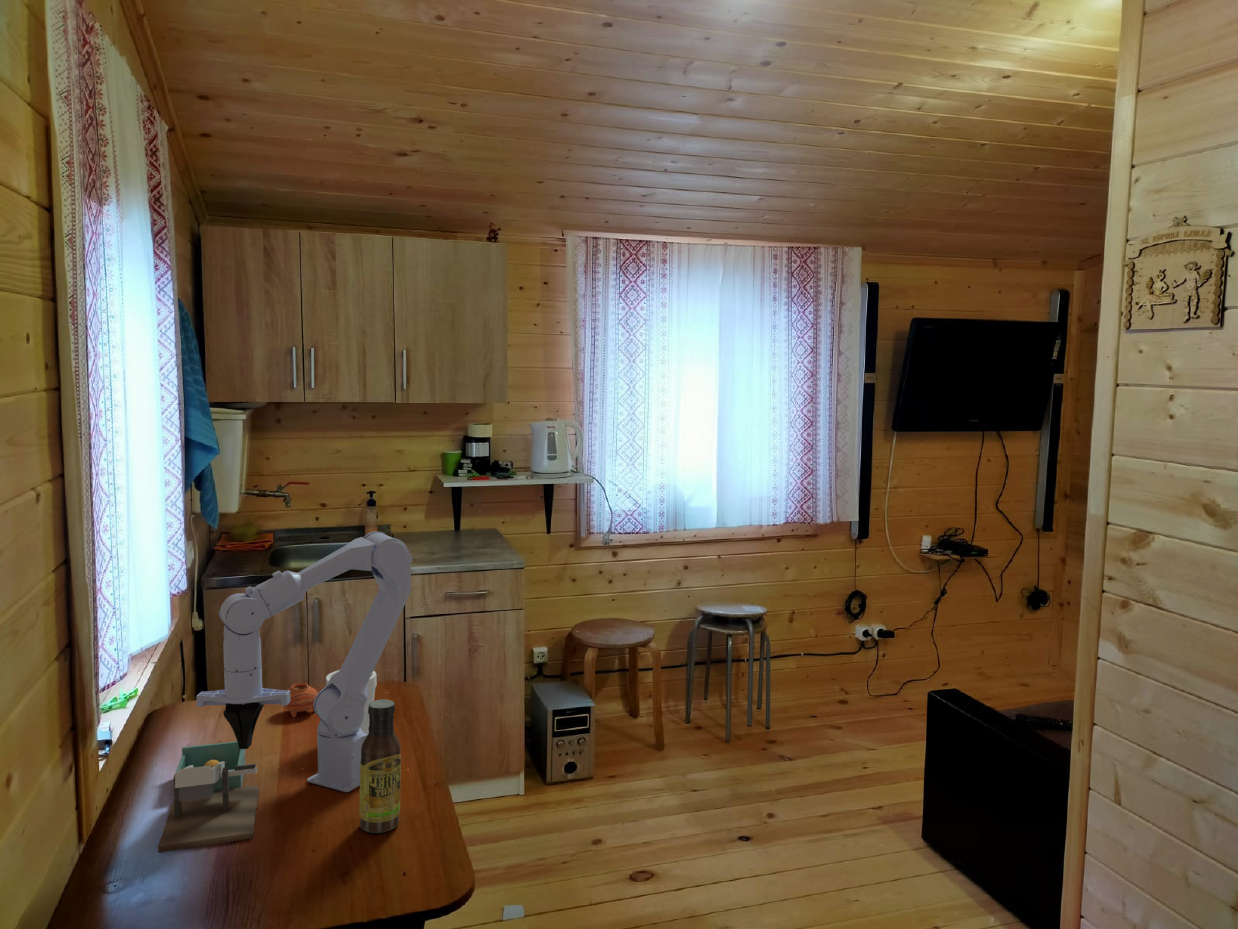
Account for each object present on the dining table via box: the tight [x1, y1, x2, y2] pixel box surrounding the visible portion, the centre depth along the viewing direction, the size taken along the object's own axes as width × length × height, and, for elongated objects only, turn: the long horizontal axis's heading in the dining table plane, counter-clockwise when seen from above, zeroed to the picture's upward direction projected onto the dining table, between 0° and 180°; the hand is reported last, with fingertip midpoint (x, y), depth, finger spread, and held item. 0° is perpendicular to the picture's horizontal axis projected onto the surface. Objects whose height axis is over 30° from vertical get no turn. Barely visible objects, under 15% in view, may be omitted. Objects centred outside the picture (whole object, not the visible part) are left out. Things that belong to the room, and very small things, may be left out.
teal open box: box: [175, 740, 246, 791], centre depth 154 cm, size 10×10×5 cm
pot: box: [283, 682, 319, 718], centre depth 188 cm, size 8×8×7 cm
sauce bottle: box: [358, 698, 402, 834], centre depth 139 cm, size 6×6×20 cm
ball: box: [204, 760, 220, 768], centre depth 156 cm, size 3×3×3 cm
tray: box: [174, 761, 258, 801], centre depth 142 cm, size 16×11×5 cm, turn 19°
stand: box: [157, 767, 260, 853], centre depth 141 cm, size 17×13×8 cm
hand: (245, 746), depth 147 cm, fingers closed
